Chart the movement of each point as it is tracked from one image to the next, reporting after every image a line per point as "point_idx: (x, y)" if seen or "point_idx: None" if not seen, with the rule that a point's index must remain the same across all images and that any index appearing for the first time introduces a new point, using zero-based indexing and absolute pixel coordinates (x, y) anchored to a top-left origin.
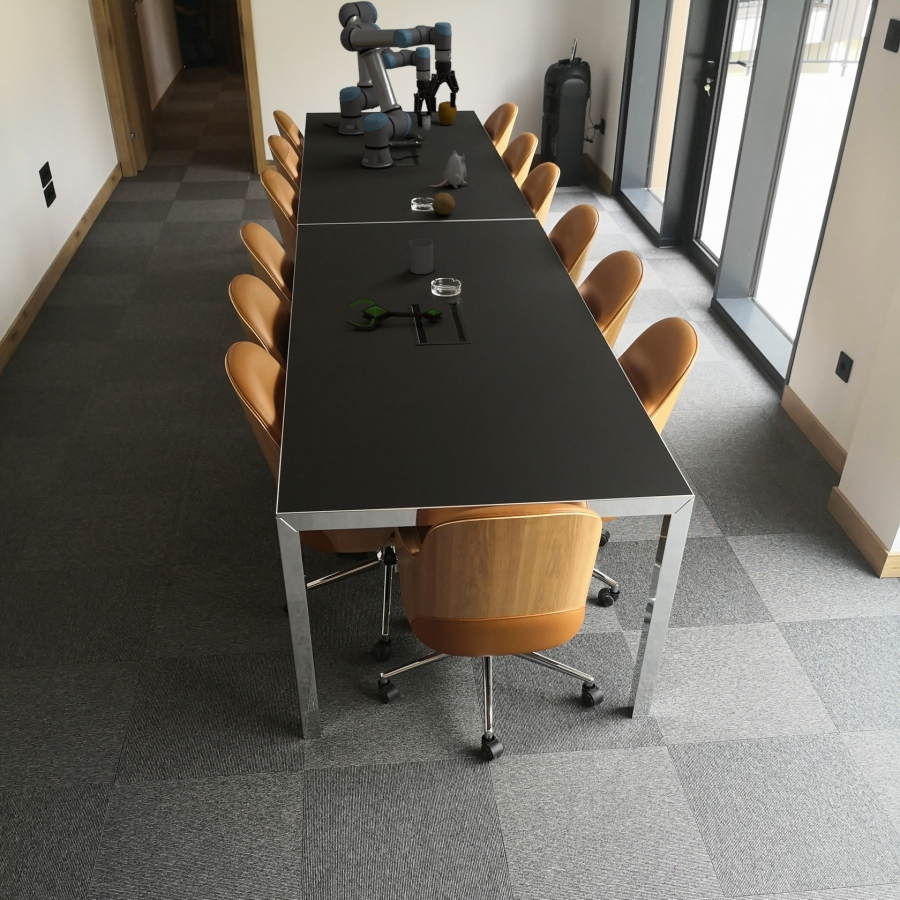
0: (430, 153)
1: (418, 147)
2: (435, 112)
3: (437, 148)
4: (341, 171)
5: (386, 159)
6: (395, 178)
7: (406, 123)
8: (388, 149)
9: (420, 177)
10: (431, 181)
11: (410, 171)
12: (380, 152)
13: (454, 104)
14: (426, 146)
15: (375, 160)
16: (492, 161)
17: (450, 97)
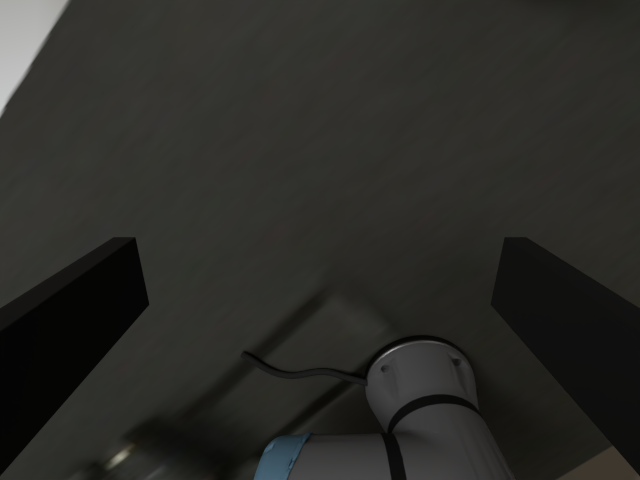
0: (175, 353)
1: (154, 423)
2: (520, 238)
3: (109, 377)
4: (542, 403)
5: (434, 357)
6: (528, 227)
7: (299, 477)
8: (410, 393)
9: (463, 162)
10: (492, 80)
11: (413, 250)
12: (459, 389)
13: (108, 255)
14: (124, 414)
15: (469, 374)
16: (44, 90)
17: (68, 388)
